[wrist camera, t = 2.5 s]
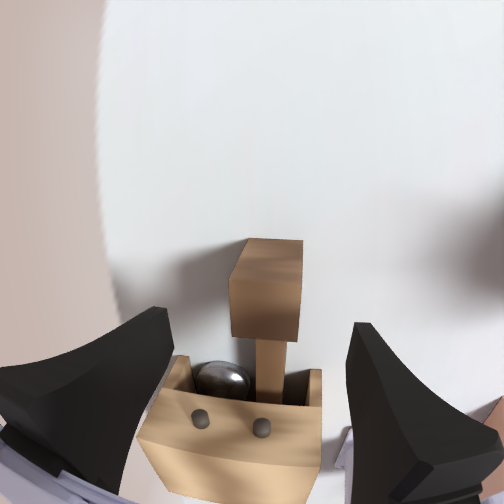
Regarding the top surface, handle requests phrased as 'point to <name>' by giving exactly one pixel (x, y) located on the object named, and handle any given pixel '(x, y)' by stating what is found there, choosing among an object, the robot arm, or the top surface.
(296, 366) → the top surface
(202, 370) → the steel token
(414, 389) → the robot arm
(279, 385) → the wooden mallet
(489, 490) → the utensil crock
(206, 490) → the bread box
